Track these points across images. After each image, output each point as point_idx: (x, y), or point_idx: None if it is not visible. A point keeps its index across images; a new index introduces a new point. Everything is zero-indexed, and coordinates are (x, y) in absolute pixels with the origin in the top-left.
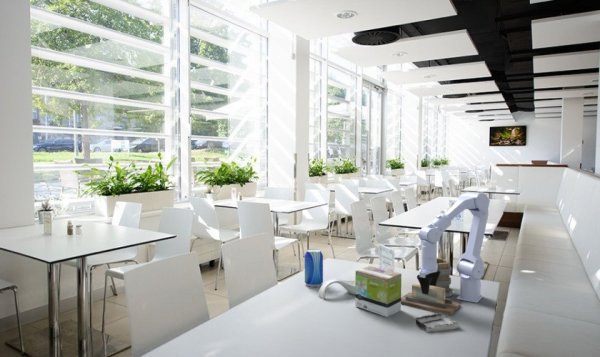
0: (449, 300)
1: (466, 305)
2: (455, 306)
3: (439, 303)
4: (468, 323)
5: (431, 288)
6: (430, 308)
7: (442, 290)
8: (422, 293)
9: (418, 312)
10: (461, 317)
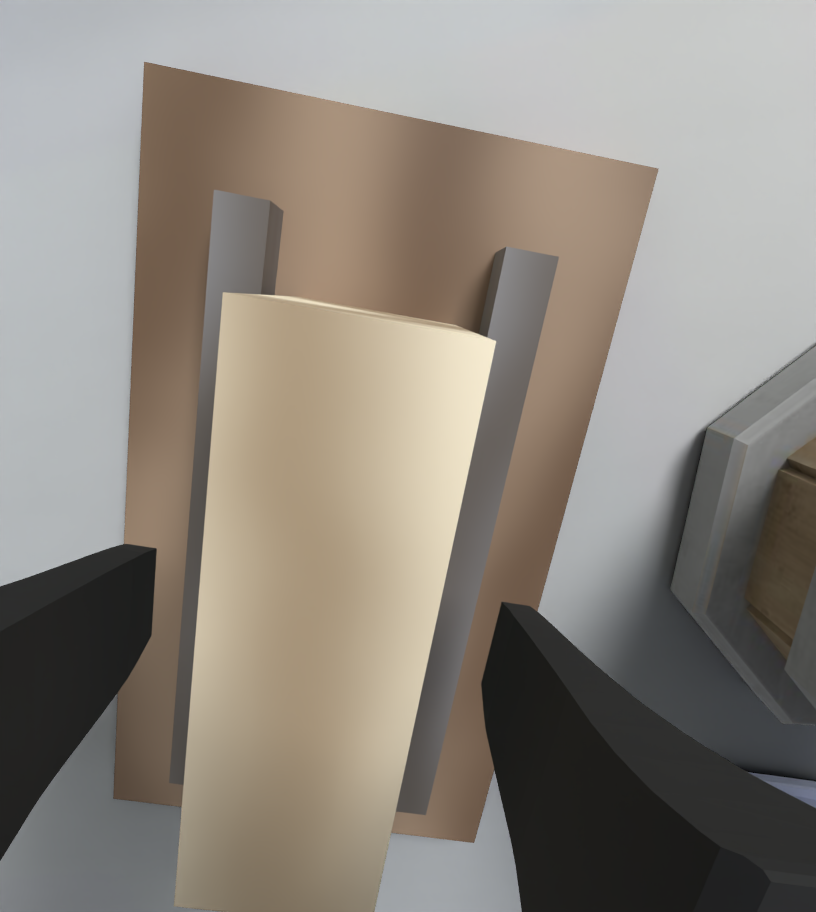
0: None
1: None
2: None
3: None
4: (36, 907)
5: (227, 736)
6: None
7: (214, 909)
8: (127, 544)
9: (4, 457)
10: (148, 849)
